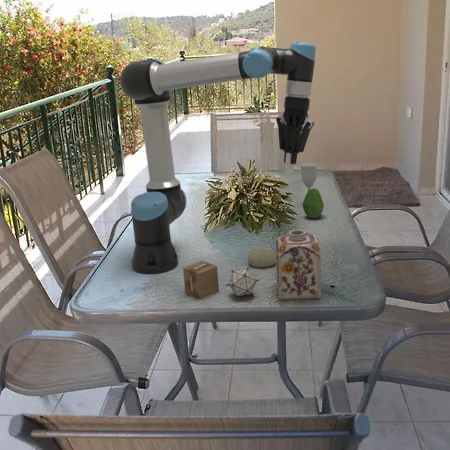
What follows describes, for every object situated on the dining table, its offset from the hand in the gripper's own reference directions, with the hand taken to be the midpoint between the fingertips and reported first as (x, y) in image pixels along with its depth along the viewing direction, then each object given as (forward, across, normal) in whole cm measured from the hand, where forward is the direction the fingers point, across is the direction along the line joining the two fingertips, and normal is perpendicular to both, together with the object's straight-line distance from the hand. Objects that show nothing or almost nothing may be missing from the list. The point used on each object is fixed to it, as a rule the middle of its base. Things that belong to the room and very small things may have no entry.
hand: (288, 173), depth 181 cm
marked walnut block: (+34, +4, +30) cm, 45 cm away
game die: (+33, -7, +24) cm, 41 cm away
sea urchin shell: (+30, +4, +3) cm, 31 cm away
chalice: (+22, +28, -55) cm, 65 cm away
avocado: (+23, +18, -44) cm, 53 cm away
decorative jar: (+30, -18, +13) cm, 38 cm away
